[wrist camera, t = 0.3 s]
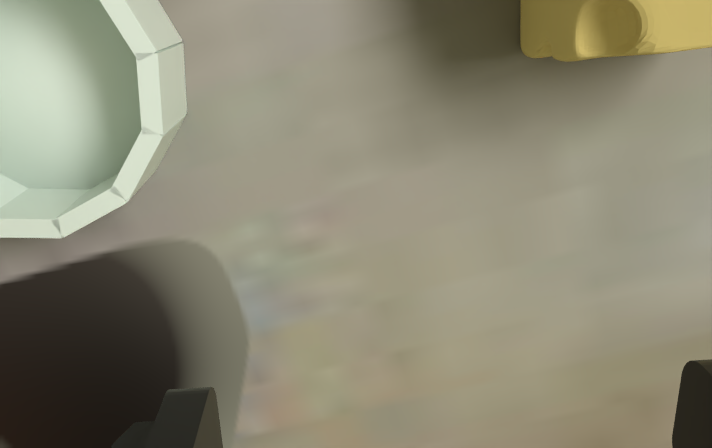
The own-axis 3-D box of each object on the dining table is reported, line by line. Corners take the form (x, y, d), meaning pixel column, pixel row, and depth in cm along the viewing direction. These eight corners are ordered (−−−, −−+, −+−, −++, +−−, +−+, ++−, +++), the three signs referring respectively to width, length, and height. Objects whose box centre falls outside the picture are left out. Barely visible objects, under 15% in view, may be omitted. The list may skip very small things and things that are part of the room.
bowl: (-115, -76, 34) (-203, -89, 28) (177, -65, 34) (149, -75, 29) (-63, 199, 39) (-129, 235, 33) (192, 203, 39) (170, 239, 34)
